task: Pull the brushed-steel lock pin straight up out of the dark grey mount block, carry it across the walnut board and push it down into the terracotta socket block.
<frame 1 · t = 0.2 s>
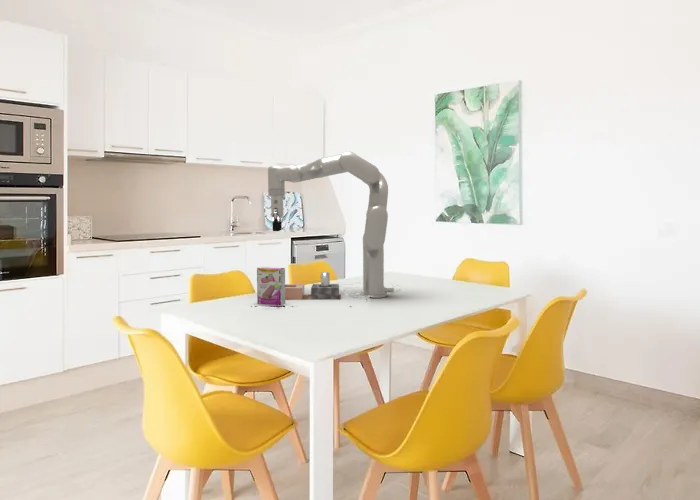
hand: (277, 230, 254), 31 cm above the table, fingers open, 9 cm apart
lock pin: (325, 296, 250), point 1 cm above the table, touching mount board
candy bar box: (271, 306, 234), on the table
socket block: (290, 297, 250), resting on mount board
mount board: (307, 299, 250), on the table
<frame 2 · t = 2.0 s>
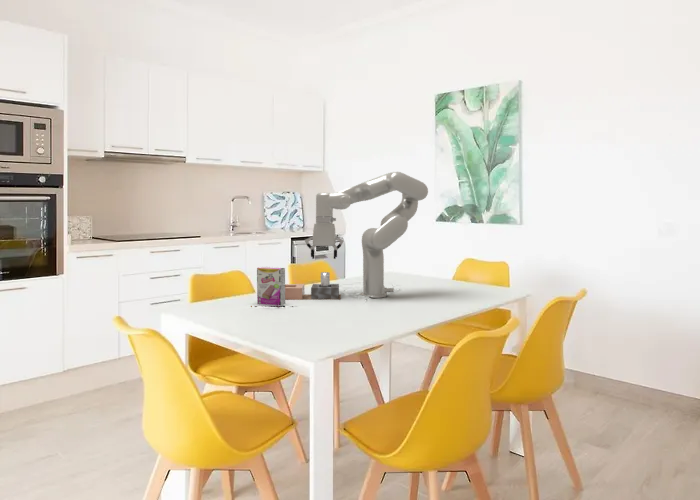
hand: (323, 258, 248), 18 cm above the table, fingers open, 9 cm apart
nothing on the table moved.
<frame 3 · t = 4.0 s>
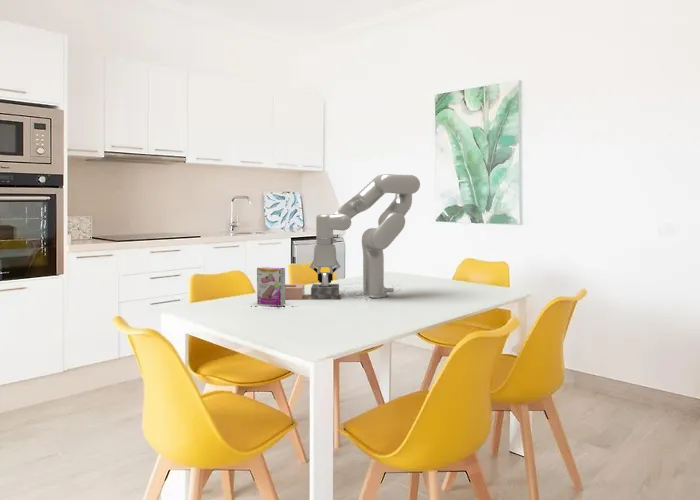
hand: (325, 281, 249), 8 cm above the table, fingers closed on lock pin, 4 cm apart
lock pin: (325, 296, 250), point 1 cm above the table, touching gripper, mount board
everything else where it was.
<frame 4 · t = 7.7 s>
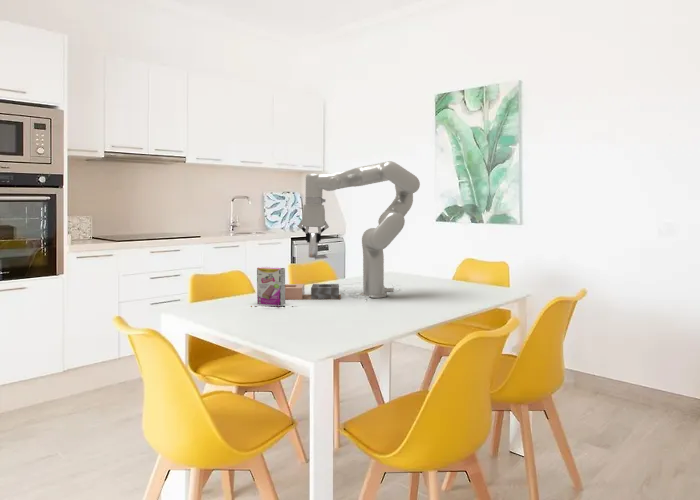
hand: (313, 242, 248), 26 cm above the table, fingers closed on lock pin, 4 cm apart
lock pin: (313, 257, 248), point 19 cm above the table, touching gripper
everything else where it was.
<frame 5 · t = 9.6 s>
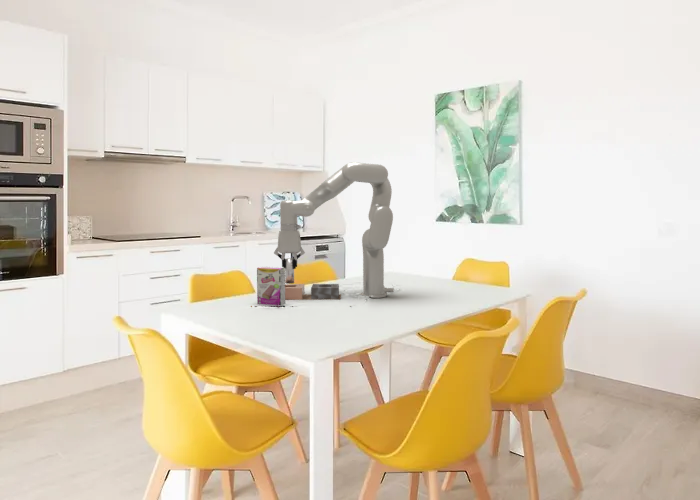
hand: (289, 268, 249), 14 cm above the table, fingers closed on lock pin, 4 cm apart
lock pin: (289, 283, 249), point 7 cm above the table, touching gripper
everything else where it was.
when the fingers open (9 cm above the table, at t = 11.4 s): lock pin stays where it is, resting on mount board.
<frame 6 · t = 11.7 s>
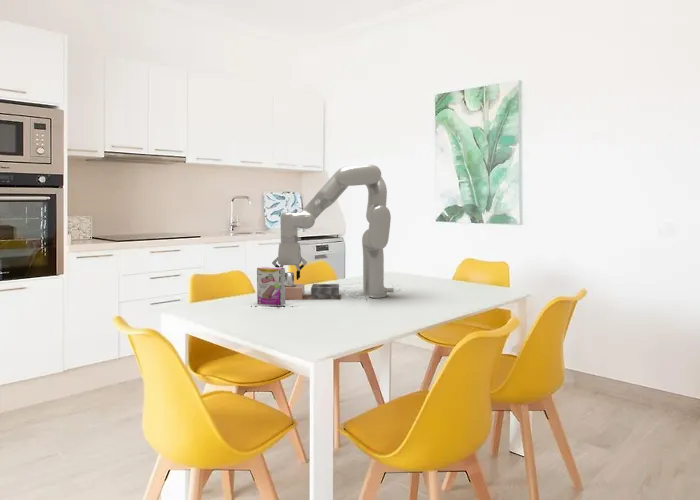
hand: (289, 279, 249), 9 cm above the table, fingers open, 6 cm apart
lock pin: (290, 297, 250), point 1 cm above the table, touching mount board
everything else where it was.
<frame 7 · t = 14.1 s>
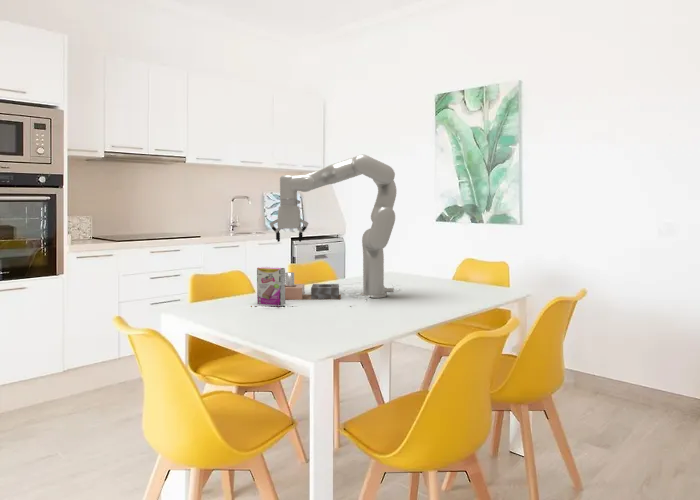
hand: (289, 241, 248), 26 cm above the table, fingers open, 9 cm apart
nothing on the table moved.
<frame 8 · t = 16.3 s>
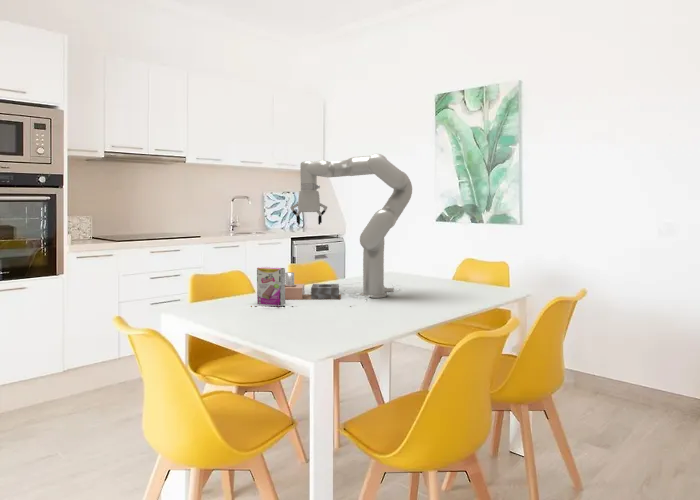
hand: (309, 224, 260), 33 cm above the table, fingers open, 9 cm apart
nothing on the table moved.
at the end: lock pin 0.0 cm off-centre on the socket block, point 0.0 cm above the socket block's base; lock pin tilted 1°; the gripper is holding nothing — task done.
